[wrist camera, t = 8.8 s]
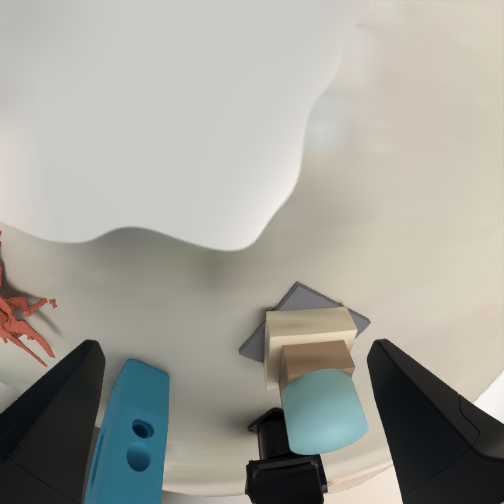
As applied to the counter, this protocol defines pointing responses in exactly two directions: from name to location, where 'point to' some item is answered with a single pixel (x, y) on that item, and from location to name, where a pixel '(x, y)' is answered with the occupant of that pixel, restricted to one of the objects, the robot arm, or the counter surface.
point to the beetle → (21, 322)
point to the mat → (297, 300)
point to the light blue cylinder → (322, 412)
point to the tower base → (302, 334)
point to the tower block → (313, 360)
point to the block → (132, 439)
